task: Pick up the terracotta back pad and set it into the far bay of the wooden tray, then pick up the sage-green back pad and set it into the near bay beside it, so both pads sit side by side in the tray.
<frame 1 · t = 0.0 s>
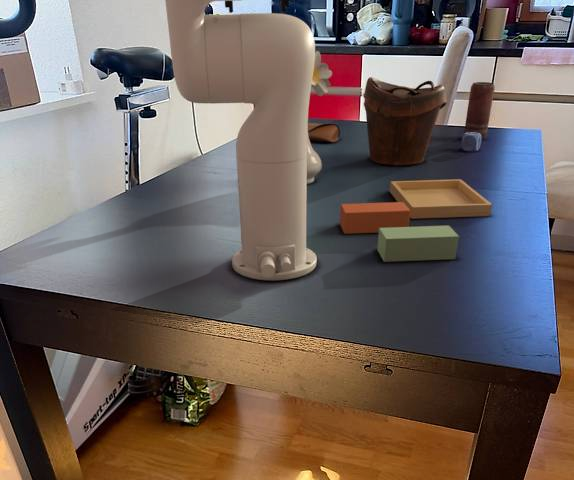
hand: (257, 12, 106), 31 cm above the table, tool pointing down, fingers open, 9 cm apart
pad terracotta: (373, 228, 99), on the table
wooden tray: (436, 203, 111), on the table
decorative dice: (469, 150, 150), on the table
flower vase: (298, 181, 126), on the table
sunglasses case: (306, 140, 163), on the table
pad sage: (415, 254, 89), on the table
can: (474, 139, 162), on the table
case: (398, 161, 141), on the table
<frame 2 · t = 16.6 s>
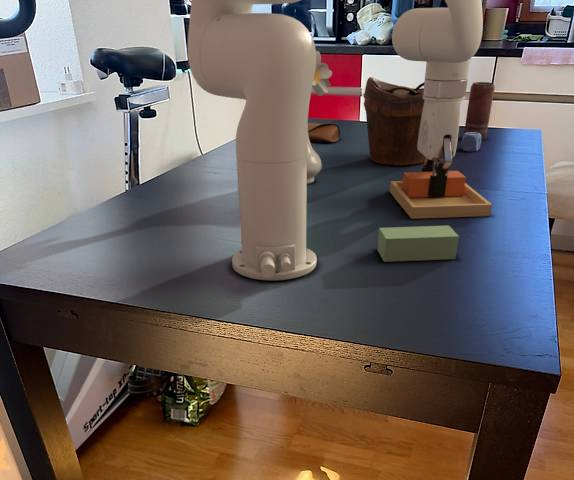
hand: (432, 191, 114), 1 cm above the table, tool pointing down, fingers closed on pad terracotta, 5 cm apart
pad terracotta: (431, 193, 114), point 1 cm above the table, touching gripper
everything else where it was.
when the fingers open (1 cm above the table, at t = 30.3 s): pad terracotta moves 1 cm, point 1 cm above the table.
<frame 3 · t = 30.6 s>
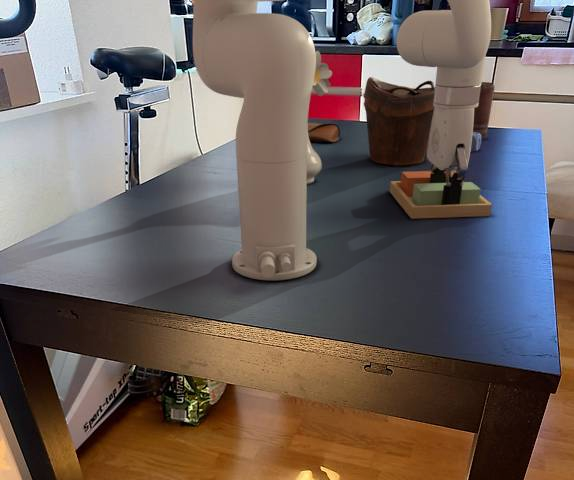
hand: (443, 200, 108), 1 cm above the table, tool pointing down, fingers open, 7 cm apart
pad terracotta: (429, 192, 115), point 1 cm above the table, touching gripper
pad sage: (444, 206, 107), point 1 cm above the table, touching wooden tray
everything else where it was.
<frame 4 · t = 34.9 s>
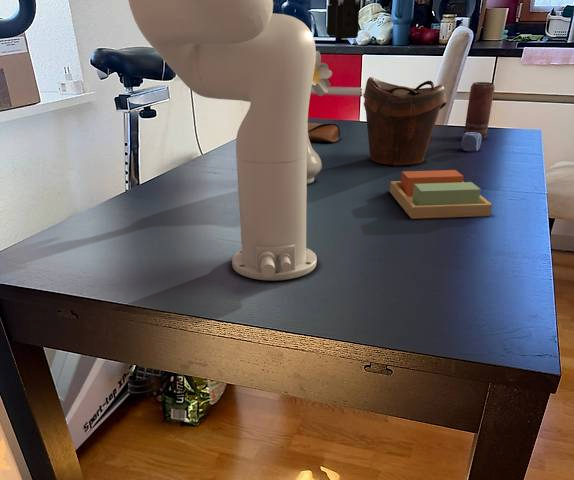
hand: (341, 36, 88), 28 cm above the table, tool pointing down, fingers open, 9 cm apart
pad terracotta: (429, 192, 115), point 1 cm above the table, touching wooden tray
everything else where it was.
at the end: pad terracotta 1.5 cm from the target spot in the wooden tray, point 0.6 cm above the wooden tray's base; pad sage 0.2 cm from the target spot in the wooden tray, point 0.6 cm above the wooden tray's base; pad sage tilted 0° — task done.
